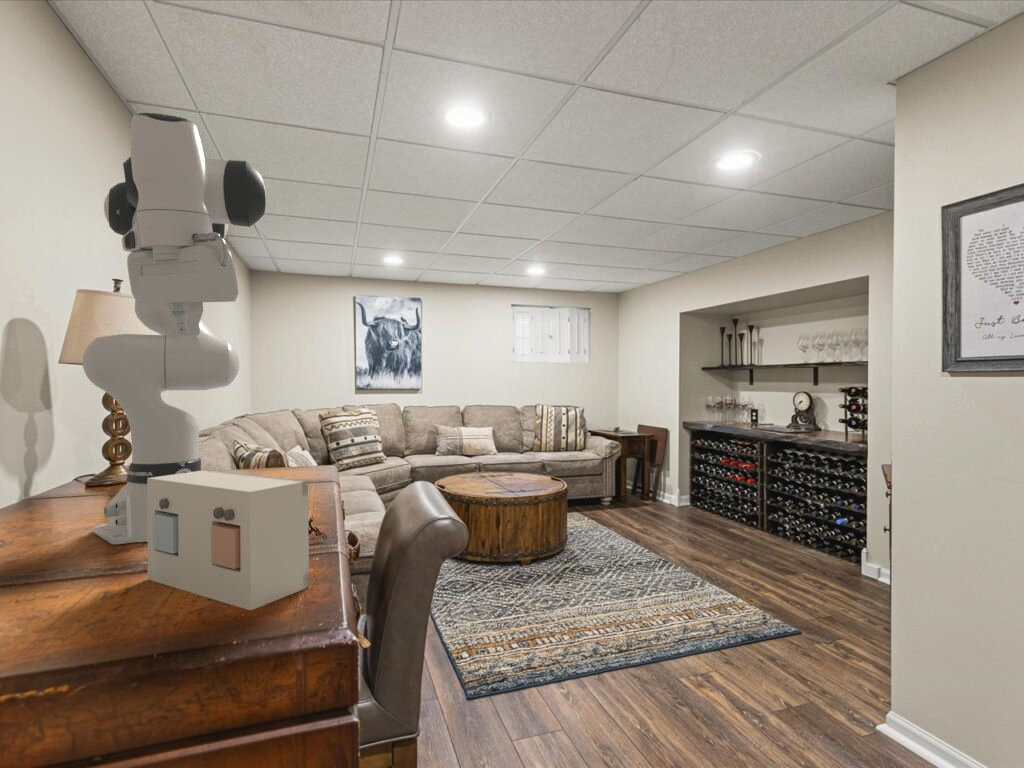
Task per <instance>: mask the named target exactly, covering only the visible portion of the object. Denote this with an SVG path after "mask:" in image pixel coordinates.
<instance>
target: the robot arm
mask: <svg viewBox="0 0 1024 768" xmlns="http://www.w3.org/2000/svg"><path fill="white" fill-rule="evenodd" d="M130 124H131V125H130V156H129V157H128V158H127V159H126V160H125V161H124V162H123V163H122V166H123V173H124V180H125V181H124V182H119V183H117V184H115V185H114V186H112V187H111V188H109V190H108V191H109V192H108V193H107V195H106V197H105V199H104V203H103V212H104V216H105V219H106V221H107V222H108V226H109V228H110V229H111V230H112V231H113V232H114V233H116V234H118V235H121V236H122V237H121V243H122V249H123V251H124V252H129V253H128V255H127V259H126V263H127V272H128V273H127V274H128V279H129V280H128V281H129V285H130V290H131V294H132V296H133V299H134V300H135V301H134V311H135V315H136V317H137V319H138V320H139V321H140V322H141V323H142V324H143V326H145V327H146V328H147V329H149V330H150V331H153V332H154V333H157V334H138V333H137V334H136V333H122V334H121V333H120V334H113V335H105V336H99V337H96V338H94V339H93V340H92V341H90V343H89V344H88V345H87V347H86V348H85V350H84V352H83V355H82V368H83V372H84V373H85V376H86V377H87V379H88V380H89V381H90V383H92V384H93V385H94V386H96V387H97V388H99V389H101V390H102V391H104V392H105V393H107V395H110V397H112V398H113V399H114V400H115V401H116V403H118V405H119V406H120V407H121V409H122V410H123V412H124V413H125V416H126V418H127V421H128V425H129V429H130V439H131V453H132V454H131V456H132V457H131V459H132V462H131V463H129V465H127V466H126V467H127V468H128V469H126V471H127V472H126V474H127V475H126V482H127V483H126V484H125V485H124V486H123V487H122V489H120V490H119V491H118V493H117V494H115V495H114V497H113V498H112V499H110V501H108V505H105V506H104V508H103V515H104V517H105V518H106V519H107V522H106V523H102V524H99V525H96V526H94V527H93V528H92V532H93V534H94V535H97V536H98V537H99V538H101V539H103V540H105V541H106V542H108V543H109V544H111V545H123V544H129V543H131V544H132V543H145V542H146V543H148V527H147V478H152V477H159V476H167V475H174V474H181V473H188V472H195V471H202V468H203V465H202V459H201V458H200V456H199V447H200V446H199V438H200V437H199V435H200V434H199V432H200V431H199V428H200V427H199V424H198V420H197V419H196V417H194V416H193V415H192V414H190V413H189V412H188V411H185V410H183V409H181V408H177V407H175V406H173V405H169V404H168V403H166V402H165V401H164V400H163V399H162V395H161V394H162V393H163V392H166V391H207V390H212V389H220V388H224V387H228V386H229V385H230V384H232V382H234V380H235V378H236V377H237V376H238V373H239V369H240V359H239V354H238V352H237V350H236V349H235V347H234V346H233V345H232V344H231V343H230V342H229V341H227V340H226V339H224V338H222V337H220V336H219V335H217V334H216V333H214V332H213V331H212V330H211V329H210V328H209V327H208V326H207V325H206V324H205V322H204V321H203V319H202V316H203V312H204V304H203V303H229V302H231V303H232V302H233V303H234V302H236V301H237V299H238V297H239V296H238V295H239V285H238V277H237V273H236V269H235V268H236V267H235V264H234V263H235V262H234V259H233V257H232V253H231V251H230V250H229V249H228V244H227V241H226V240H225V239H226V236H227V234H228V230H229V225H232V226H240V227H248V228H250V227H252V226H253V225H255V224H256V223H258V221H259V220H261V219H262V217H263V216H264V215H265V212H266V207H267V192H266V191H267V190H266V186H265V182H264V180H263V177H262V175H261V174H260V172H259V171H258V170H257V169H256V168H254V167H253V166H252V165H251V164H250V163H249V162H248V161H246V160H232V159H231V160H224V159H223V160H222V159H216V158H208V157H207V158H206V157H205V153H204V149H203V145H202V141H201V137H200V133H199V131H198V126H197V124H196V123H194V122H192V121H191V120H189V119H187V118H184V117H181V116H176V115H168V114H163V113H155V112H154V113H153V112H150V113H149V112H141V113H137V114H134V115H133V116H132V118H131V123H130Z"/></svg>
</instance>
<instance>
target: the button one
mask: <svg viewBox="0 0 1024 768" xmlns="http://www.w3.org/2000/svg"><path fill="white" fill-rule="evenodd" d="M219 523H223V522H219ZM153 542H154V549H157V550H161V551H165V552H169V553H177V552H178V514H174V513H169V512H163V513H157V514H153Z"/></svg>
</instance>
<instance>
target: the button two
mask: <svg viewBox="0 0 1024 768" xmlns="http://www.w3.org/2000/svg"><path fill="white" fill-rule="evenodd" d="M211 563H213V564H217V565H221V566H225V567H229V568H233V569H236V568H240V567H241V562H240V526H239V525H234V524H228V523H219V524H215V525H211Z"/></svg>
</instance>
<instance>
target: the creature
mask: <svg viewBox="0 0 1024 768" xmlns="http://www.w3.org/2000/svg"><path fill="white" fill-rule="evenodd" d="M313 518H314V516H312V517H311V518H310V519H309V520H308V536H309V535H312V533H313V532H314V534H315V536H316V538H317V537H319V536H321V538H323V540H324V541H326V539H328V537H327V536H326V534H325V532H320V529H319V528H318V527H316V526H315V527H313V526H312V522H313V521H314V519H313ZM316 538H314V540H315V539H316Z"/></svg>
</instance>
